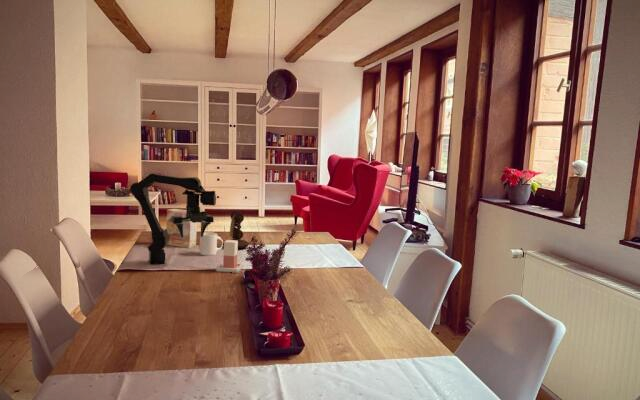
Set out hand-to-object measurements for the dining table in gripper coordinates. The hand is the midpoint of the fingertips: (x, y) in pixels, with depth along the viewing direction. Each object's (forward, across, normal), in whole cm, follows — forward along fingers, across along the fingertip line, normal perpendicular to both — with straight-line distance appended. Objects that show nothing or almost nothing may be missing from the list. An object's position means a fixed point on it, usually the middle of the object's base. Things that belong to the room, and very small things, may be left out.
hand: (191, 237), depth 228 cm
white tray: (+13, +14, -14) cm, 24 cm away
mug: (+13, +16, +18) cm, 27 cm away
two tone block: (+12, +14, -14) cm, 23 cm away
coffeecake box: (+13, +7, +42) cm, 45 cm away
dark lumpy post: (+13, +34, +29) cm, 47 cm away
